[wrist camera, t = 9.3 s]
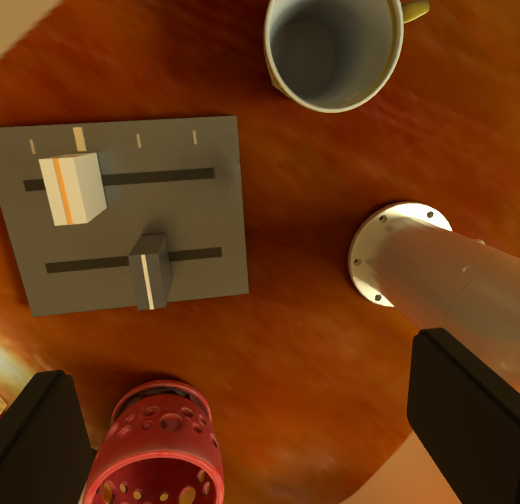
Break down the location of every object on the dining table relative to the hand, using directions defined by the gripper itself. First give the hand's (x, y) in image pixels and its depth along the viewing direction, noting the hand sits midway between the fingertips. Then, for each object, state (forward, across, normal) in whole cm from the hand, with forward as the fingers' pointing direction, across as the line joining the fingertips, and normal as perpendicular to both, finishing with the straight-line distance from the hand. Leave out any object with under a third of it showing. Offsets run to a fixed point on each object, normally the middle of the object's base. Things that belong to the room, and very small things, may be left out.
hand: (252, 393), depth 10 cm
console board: (+29, +10, +1) cm, 30 cm away
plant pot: (+30, +10, +26) cm, 40 cm away
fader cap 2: (+27, +8, +5) cm, 28 cm away
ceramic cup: (+30, -10, -13) cm, 34 cm away
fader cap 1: (+27, +12, -3) cm, 30 cm away
